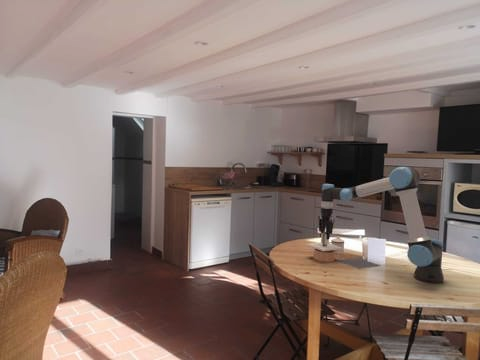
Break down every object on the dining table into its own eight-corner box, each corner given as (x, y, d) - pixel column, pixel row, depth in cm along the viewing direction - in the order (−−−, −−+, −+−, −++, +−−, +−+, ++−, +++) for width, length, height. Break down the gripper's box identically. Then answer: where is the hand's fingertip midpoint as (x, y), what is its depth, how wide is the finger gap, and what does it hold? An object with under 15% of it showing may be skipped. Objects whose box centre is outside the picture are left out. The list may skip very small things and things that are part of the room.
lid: (342, 249, 234) (343, 233, 234) (322, 251, 227) (323, 235, 226) (326, 243, 248) (326, 229, 248) (307, 245, 241) (307, 230, 241)
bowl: (338, 261, 235) (339, 251, 235) (322, 263, 229) (323, 253, 229) (325, 256, 247) (325, 247, 247) (309, 258, 241) (310, 248, 241)
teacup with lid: (343, 252, 261) (344, 236, 260) (344, 255, 252) (345, 238, 252) (326, 250, 264) (327, 234, 263) (326, 253, 255) (327, 237, 254)
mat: (381, 266, 228) (381, 265, 228) (359, 269, 219) (359, 268, 219) (359, 258, 245) (359, 257, 245) (337, 261, 236) (337, 260, 236)
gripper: (339, 209, 231) (337, 245, 232) (323, 205, 245) (321, 240, 246) (330, 209, 227) (328, 246, 229) (314, 206, 242) (312, 241, 243)
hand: (324, 243), depth 238 cm, fingers closed on lid, 3 cm apart
